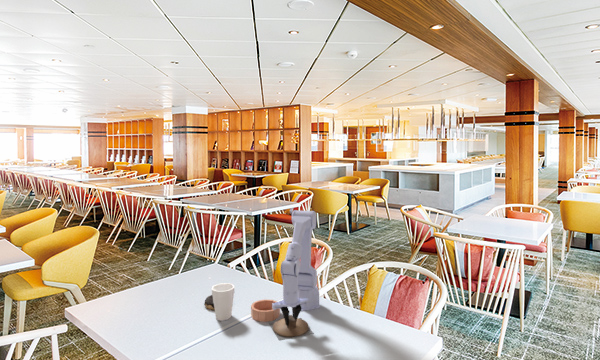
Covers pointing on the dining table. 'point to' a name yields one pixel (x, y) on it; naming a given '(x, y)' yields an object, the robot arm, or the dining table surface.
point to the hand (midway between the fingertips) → (290, 324)
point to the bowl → (264, 311)
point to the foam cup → (223, 300)
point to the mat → (290, 337)
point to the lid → (290, 327)
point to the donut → (209, 303)
